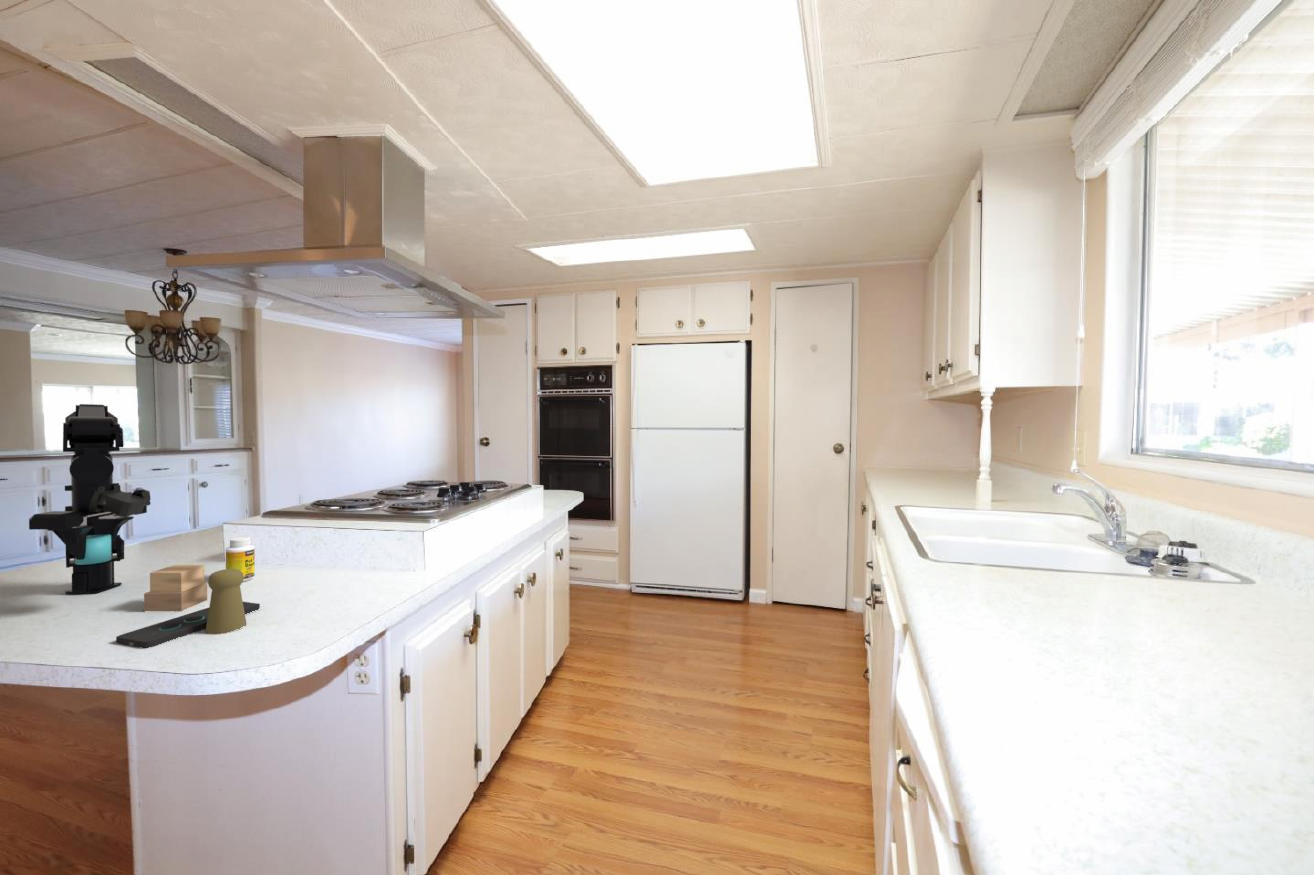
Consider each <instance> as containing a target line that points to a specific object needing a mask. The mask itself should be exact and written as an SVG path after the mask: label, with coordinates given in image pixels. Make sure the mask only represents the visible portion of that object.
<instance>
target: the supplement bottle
mask: <svg viewBox="0 0 1314 875" xmlns="http://www.w3.org/2000/svg"><path fill="white" fill-rule="evenodd" d="M251 542H252V541H251V537H249V536H238V537H234V538H231V539H229V546H228V547H227V548H225V569H238V570H240V571H241V572H242V573H243V575H244V579H243V582H242V583H245V582H248V581H251V580H252V579H254V577H255V562H256V560H255V557H256V555H255V552H256V551H255V547H256V546H255V545H253V544H251Z"/></svg>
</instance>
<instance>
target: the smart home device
mask: <svg viewBox="0 0 1314 875" xmlns="http://www.w3.org/2000/svg"><path fill="white" fill-rule="evenodd" d="M243 606H244V612H245V614H246V615H248V614H247V613H249V614H251V613H250V612H252V611H255V610H258V609H259V608H260V609H261V605H260V603H255V602H248V601H243ZM258 611H259V610H258ZM208 612H209V607H207V608H202V609H199V610H197V611H192V612H190V613H187V614H183V615H181V616H177V617H174V618H171V619H168V620H164V621H161V622H157V623H154V624H151V625H148V626H145V627H142V628H138V629H136V630H135V629H134V630H133V631H129V632H126V633H122V634H119V635H118V636H115V643H116V644H117V643H118V644H119V645H124V646H129V647H130V646H131V647H135V648H140V647H142V649H149V647H150V648H153V647H156V646H160V645H162V643H163V644H165V642H166V643H168V642H171V641H174V640H177V639H179V638H178V637H180V638H182V637H185V636H188V634H189V635H191V634H194V633H197V632H200V631H203V630H206V629H205V628H206V625H207V618H208ZM255 612H256V611H255ZM252 613H253V612H252ZM202 629H203V630H202ZM199 630H200V631H199ZM196 631H197V632H196ZM193 632H194V633H193ZM176 638H177V639H176ZM173 639H174V640H173ZM170 640H171V641H170ZM167 641H168V642H167ZM159 644H160V645H159Z"/></svg>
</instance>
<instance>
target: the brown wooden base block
mask: <svg viewBox="0 0 1314 875" xmlns="http://www.w3.org/2000/svg"><path fill="white" fill-rule="evenodd" d="M205 601H208V582H204V583H203V584H201V585H198V586H196V587H193V588H191V589H188V590H185V591H183V592H150V591H148V592H145V593H143V612H144V611H174V612H183V611H185V609H186V610H188V609H190V608H192V607H195V606H197V605H199V604H201V603H204V602H205ZM194 605H195V606H194ZM189 607H190V608H189ZM187 608H188V609H187Z"/></svg>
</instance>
